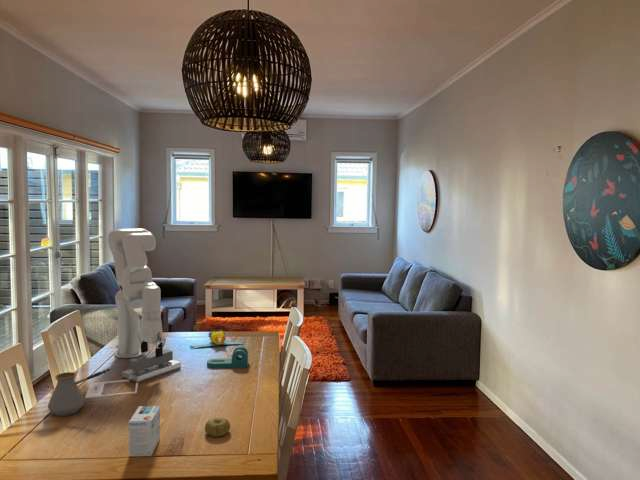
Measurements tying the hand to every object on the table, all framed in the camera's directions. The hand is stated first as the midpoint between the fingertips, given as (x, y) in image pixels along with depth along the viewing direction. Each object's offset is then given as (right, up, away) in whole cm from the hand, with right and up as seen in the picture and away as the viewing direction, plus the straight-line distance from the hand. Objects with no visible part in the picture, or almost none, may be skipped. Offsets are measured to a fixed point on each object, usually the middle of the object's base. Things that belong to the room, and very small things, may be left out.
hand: (151, 354), depth 209 cm
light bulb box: (+19, -14, -61) cm, 66 cm away
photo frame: (-9, -10, -17) cm, 22 cm away
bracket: (+30, -8, +12) cm, 33 cm away
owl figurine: (+19, -6, +43) cm, 48 cm away
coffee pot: (-12, -11, -37) cm, 40 cm away
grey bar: (0, -7, 0) cm, 7 cm away
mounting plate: (0, -8, 0) cm, 8 cm away
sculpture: (+39, -13, -52) cm, 66 cm away
